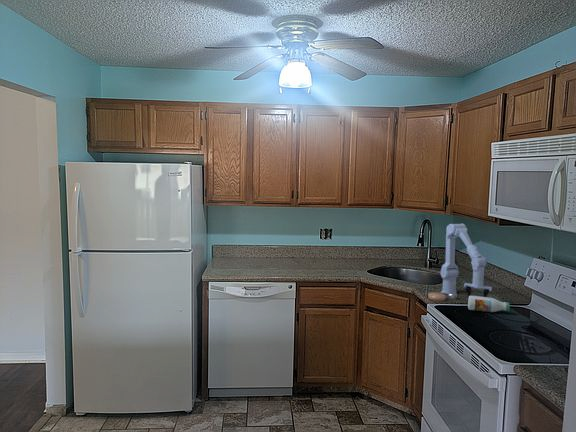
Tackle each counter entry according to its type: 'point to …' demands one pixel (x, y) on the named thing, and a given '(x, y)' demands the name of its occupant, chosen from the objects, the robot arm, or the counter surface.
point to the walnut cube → (477, 295)
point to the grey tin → (452, 295)
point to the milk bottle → (486, 304)
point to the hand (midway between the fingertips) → (476, 301)
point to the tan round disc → (436, 296)
